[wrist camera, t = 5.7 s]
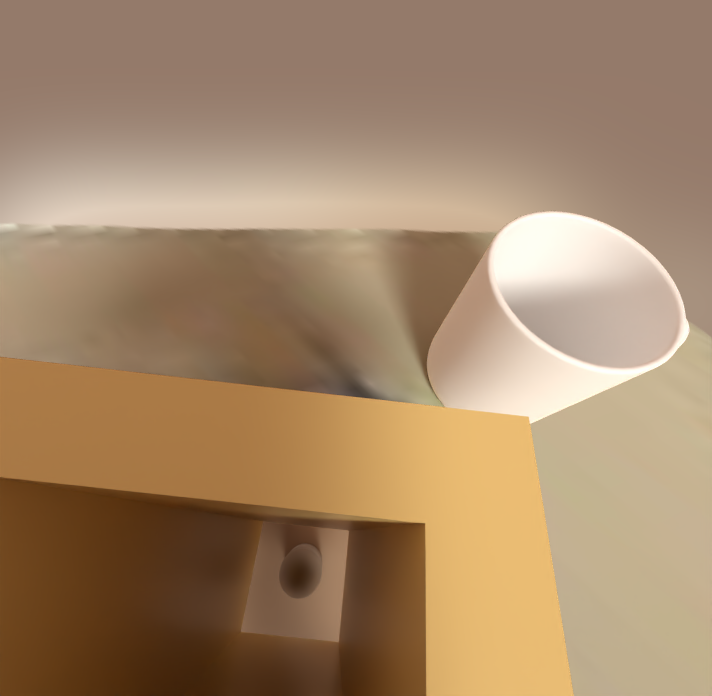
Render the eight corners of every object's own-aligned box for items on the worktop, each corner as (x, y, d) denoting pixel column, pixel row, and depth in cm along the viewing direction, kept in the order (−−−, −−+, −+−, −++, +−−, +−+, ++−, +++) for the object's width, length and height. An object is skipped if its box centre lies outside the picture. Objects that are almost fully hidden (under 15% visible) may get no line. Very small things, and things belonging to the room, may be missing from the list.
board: (367, 446, 20) (377, 430, 16) (397, 688, 16) (421, 747, 12) (-71, 491, 18) (-186, 484, 14) (-198, 803, 13) (-432, 931, 9)
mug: (580, 334, 25) (725, 231, 16) (608, 446, 22) (817, 396, 12) (423, 316, 25) (480, 199, 16) (423, 427, 21) (498, 360, 12)
